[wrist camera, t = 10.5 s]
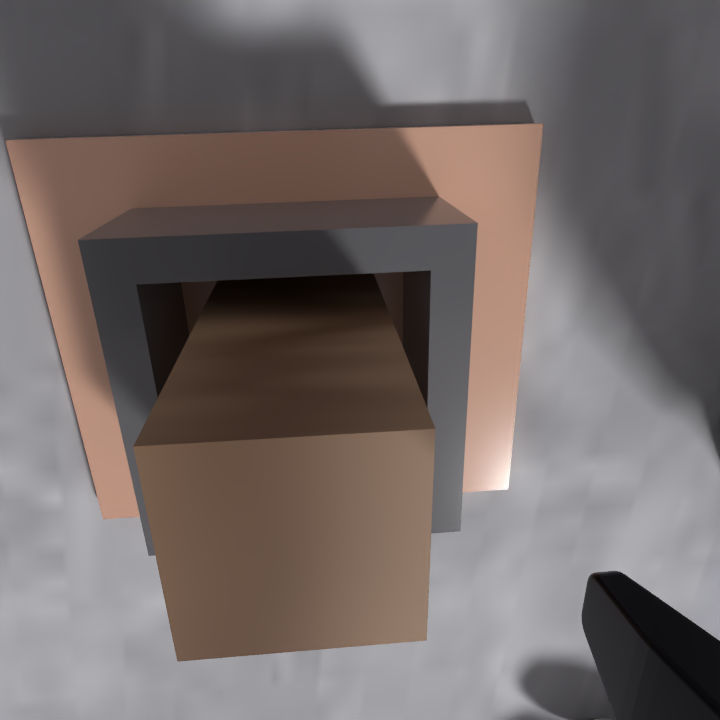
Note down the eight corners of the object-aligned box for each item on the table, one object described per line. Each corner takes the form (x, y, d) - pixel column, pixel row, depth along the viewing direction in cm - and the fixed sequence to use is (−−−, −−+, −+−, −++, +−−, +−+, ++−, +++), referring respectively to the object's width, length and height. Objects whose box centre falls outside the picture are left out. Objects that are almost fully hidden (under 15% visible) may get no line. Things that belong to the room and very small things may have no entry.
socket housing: (535, 123, 16) (616, 129, 12) (503, 479, 21) (551, 572, 17) (16, 139, 15) (-96, 151, 11) (108, 508, 20) (56, 614, 16)
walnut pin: (372, 270, 17) (435, 428, 9) (373, 404, 19) (426, 640, 10) (219, 276, 16) (133, 446, 8) (235, 411, 18) (177, 661, 10)
